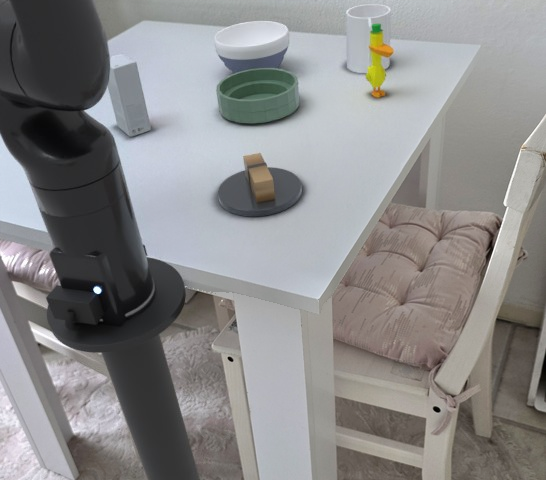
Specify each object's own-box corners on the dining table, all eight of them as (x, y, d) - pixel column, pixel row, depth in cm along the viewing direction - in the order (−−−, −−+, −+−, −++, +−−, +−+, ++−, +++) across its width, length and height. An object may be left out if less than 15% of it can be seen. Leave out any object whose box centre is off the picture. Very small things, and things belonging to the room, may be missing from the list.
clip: (276, 199, 91) (273, 178, 89) (256, 203, 91) (253, 182, 89) (263, 172, 97) (261, 152, 95) (245, 175, 97) (242, 155, 95)
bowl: (307, 66, 131) (304, 26, 126) (258, 92, 123) (254, 51, 118) (252, 54, 138) (248, 16, 134) (203, 78, 130) (197, 39, 126)
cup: (348, 82, 122) (346, 27, 116) (346, 58, 132) (345, 6, 125) (392, 79, 122) (394, 23, 115) (388, 55, 131) (389, 2, 124)
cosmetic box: (152, 130, 115) (137, 61, 107) (130, 138, 113) (112, 69, 105) (138, 119, 119) (123, 52, 111) (116, 126, 117) (99, 59, 109)
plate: (288, 220, 89) (288, 213, 88) (206, 213, 92) (205, 206, 92) (310, 175, 97) (310, 169, 97) (234, 170, 101) (233, 164, 100)
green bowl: (287, 127, 110) (284, 102, 107) (208, 124, 114) (204, 99, 111) (308, 92, 120) (306, 68, 118) (235, 90, 124) (232, 67, 122)
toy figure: (398, 98, 115) (400, 27, 107) (382, 104, 114) (383, 33, 106) (375, 86, 120) (375, 18, 112) (359, 92, 119) (358, 23, 111)
